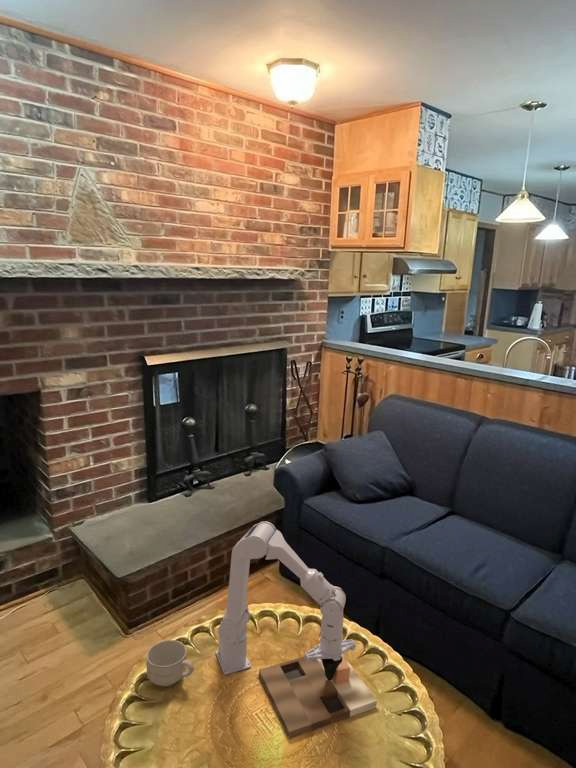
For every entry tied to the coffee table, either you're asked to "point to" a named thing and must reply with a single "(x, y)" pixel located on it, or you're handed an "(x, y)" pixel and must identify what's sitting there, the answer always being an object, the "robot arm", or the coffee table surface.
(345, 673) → the block
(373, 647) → the coffee table surface
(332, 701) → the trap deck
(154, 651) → the teacup
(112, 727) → the coffee table surface
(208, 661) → the coffee table surface
